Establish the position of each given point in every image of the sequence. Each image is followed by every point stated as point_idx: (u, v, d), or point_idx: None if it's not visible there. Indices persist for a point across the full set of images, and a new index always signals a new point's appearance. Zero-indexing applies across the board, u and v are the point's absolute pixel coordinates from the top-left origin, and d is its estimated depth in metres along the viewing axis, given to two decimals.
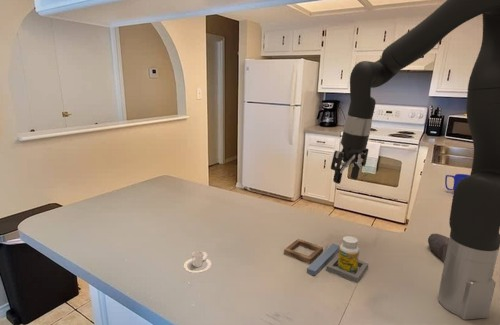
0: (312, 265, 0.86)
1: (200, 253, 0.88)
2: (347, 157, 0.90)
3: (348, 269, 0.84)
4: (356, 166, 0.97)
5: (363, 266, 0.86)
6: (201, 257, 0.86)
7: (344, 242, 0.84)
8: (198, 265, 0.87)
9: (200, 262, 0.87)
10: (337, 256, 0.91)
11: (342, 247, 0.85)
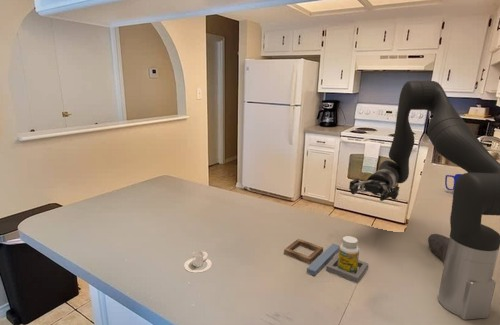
0: (312, 265, 0.86)
1: (200, 253, 0.88)
2: None
3: (348, 269, 0.84)
4: None
5: (363, 266, 0.86)
6: (201, 257, 0.86)
7: (344, 242, 0.84)
8: (198, 265, 0.87)
9: (200, 262, 0.87)
10: (337, 256, 0.91)
11: (342, 247, 0.85)
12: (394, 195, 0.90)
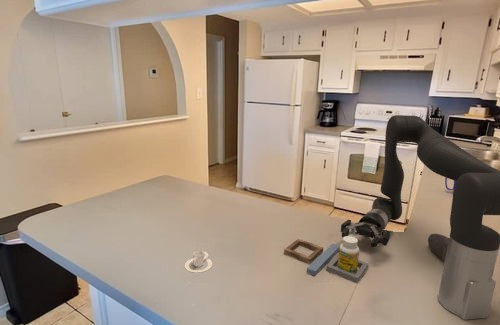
0: (312, 265, 0.86)
1: (201, 253, 0.88)
2: None
3: (348, 269, 0.84)
4: None
5: (363, 266, 0.86)
6: (202, 257, 0.86)
7: (344, 242, 0.84)
8: (199, 265, 0.87)
9: (201, 262, 0.87)
10: (337, 256, 0.91)
11: (342, 247, 0.84)
12: (385, 241, 0.90)
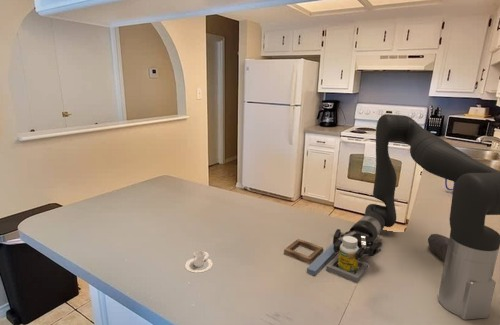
0: (312, 265, 0.86)
1: (201, 253, 0.88)
2: None
3: (348, 269, 0.84)
4: None
5: (363, 266, 0.86)
6: (202, 257, 0.86)
7: (344, 242, 0.84)
8: (199, 265, 0.87)
9: (201, 262, 0.87)
10: (337, 256, 0.91)
11: (342, 247, 0.84)
12: (370, 252, 0.84)
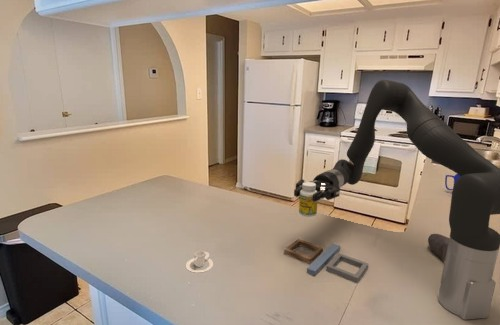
0: (312, 265, 0.86)
1: (202, 253, 0.88)
2: None
3: (307, 212, 0.89)
4: None
5: (363, 266, 0.86)
6: (203, 257, 0.86)
7: (303, 186, 0.89)
8: (200, 265, 0.87)
9: (202, 262, 0.87)
10: (337, 256, 0.91)
11: (301, 191, 0.90)
12: (327, 195, 0.89)
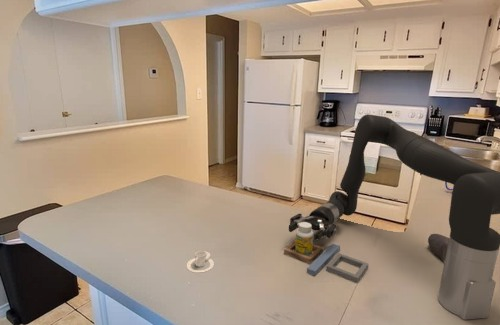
0: (312, 265, 0.86)
1: (203, 253, 0.88)
2: None
3: (303, 252, 0.93)
4: None
5: (363, 266, 0.86)
6: (204, 257, 0.86)
7: (299, 227, 0.93)
8: (201, 265, 0.87)
9: (203, 262, 0.87)
10: (337, 256, 0.91)
11: (298, 232, 0.93)
12: (329, 234, 0.91)
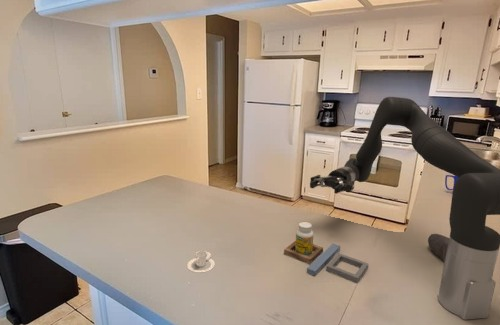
0: (312, 265, 0.86)
1: (203, 253, 0.88)
2: None
3: (303, 252, 0.93)
4: None
5: (363, 266, 0.86)
6: (204, 257, 0.86)
7: (299, 227, 0.92)
8: (201, 265, 0.87)
9: (203, 262, 0.87)
10: (337, 256, 0.91)
11: (298, 232, 0.93)
12: (348, 188, 0.98)
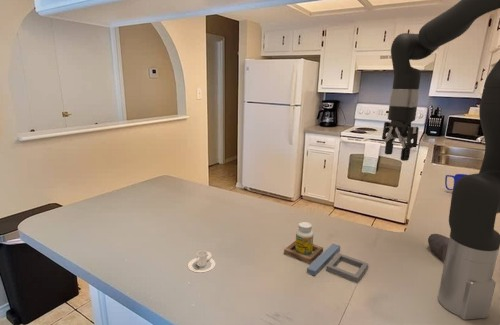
0: (312, 265, 0.86)
1: (204, 253, 0.88)
2: None
3: (303, 252, 0.93)
4: None
5: (363, 266, 0.86)
6: (205, 257, 0.86)
7: (299, 227, 0.93)
8: (202, 265, 0.87)
9: (204, 262, 0.87)
10: (337, 256, 0.91)
11: (298, 232, 0.93)
12: (411, 147, 0.87)
